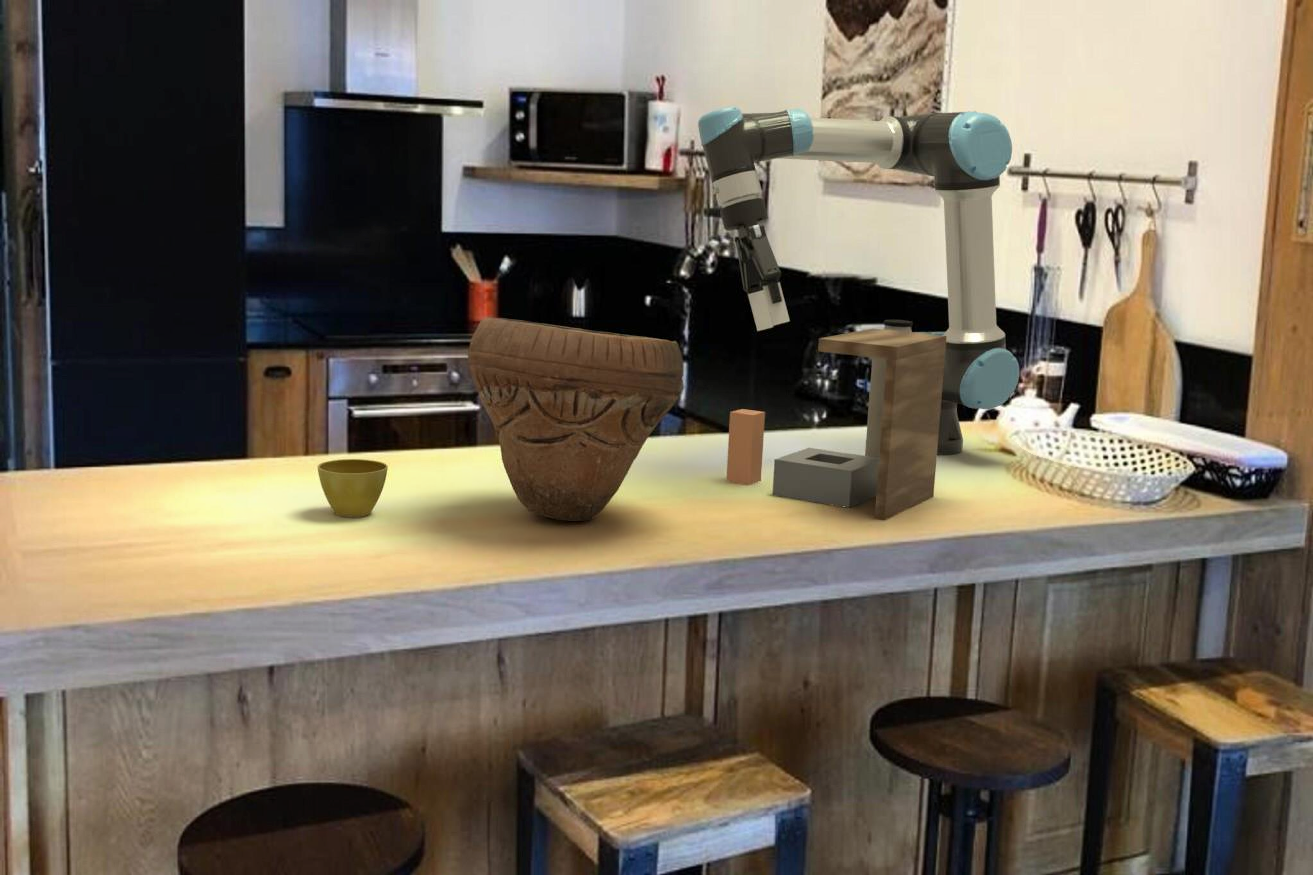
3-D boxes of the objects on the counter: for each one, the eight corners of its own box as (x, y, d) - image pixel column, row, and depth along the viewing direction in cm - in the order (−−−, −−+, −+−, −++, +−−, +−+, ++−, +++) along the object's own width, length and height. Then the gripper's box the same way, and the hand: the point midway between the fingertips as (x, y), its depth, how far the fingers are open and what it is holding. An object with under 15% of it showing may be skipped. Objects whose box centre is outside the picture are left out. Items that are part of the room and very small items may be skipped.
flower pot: (327, 523, 211) (327, 474, 210) (309, 507, 220) (309, 460, 219) (396, 518, 216) (396, 470, 214) (375, 503, 225) (376, 457, 223)
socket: (772, 495, 243) (774, 459, 242) (807, 481, 255) (809, 447, 254) (848, 507, 236) (851, 471, 235) (881, 493, 248) (883, 458, 247)
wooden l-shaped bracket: (807, 507, 235) (818, 338, 230) (861, 484, 254) (872, 328, 249) (884, 520, 229) (897, 346, 224) (933, 496, 248) (946, 336, 243)
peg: (726, 481, 252) (730, 412, 250) (738, 477, 256) (742, 408, 254) (749, 485, 250) (753, 415, 248) (760, 481, 254) (765, 412, 251)
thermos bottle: (862, 472, 265) (873, 316, 259) (907, 475, 264) (919, 319, 259) (864, 482, 257) (876, 321, 252) (910, 485, 256) (923, 323, 251)
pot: (721, 521, 224) (732, 323, 218) (569, 554, 201) (577, 334, 195) (573, 483, 245) (580, 302, 240) (420, 509, 222) (424, 310, 217)
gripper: (707, 218, 257) (738, 336, 258) (731, 196, 233) (766, 326, 233) (748, 208, 258) (779, 326, 259) (777, 184, 233) (811, 314, 234)
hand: (773, 326), depth 246 cm, fingers open, 13 cm apart
